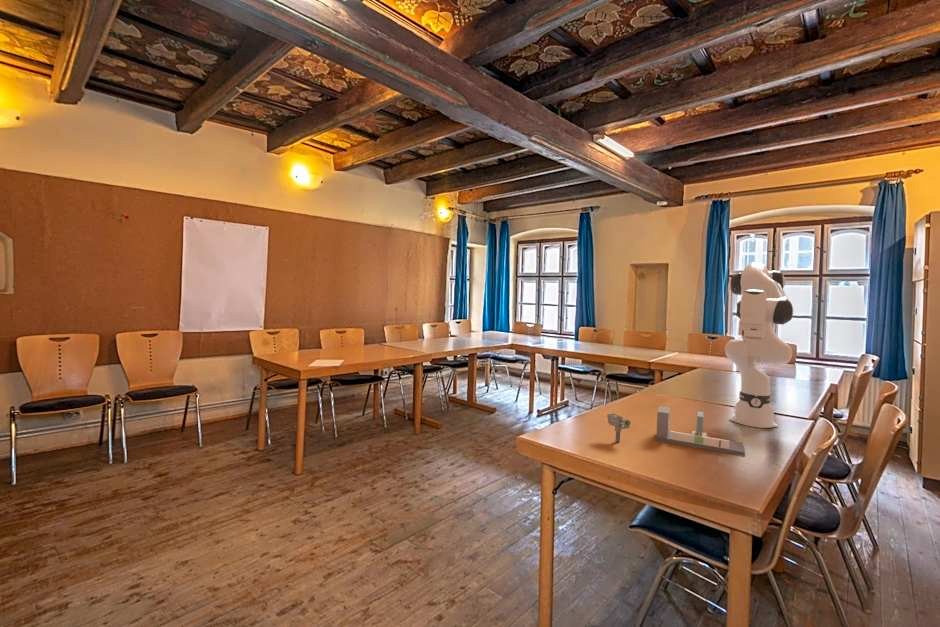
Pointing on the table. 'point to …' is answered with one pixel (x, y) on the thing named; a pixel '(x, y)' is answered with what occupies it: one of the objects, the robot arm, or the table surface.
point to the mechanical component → (618, 424)
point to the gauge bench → (693, 437)
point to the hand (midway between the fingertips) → (749, 366)
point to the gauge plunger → (699, 425)
